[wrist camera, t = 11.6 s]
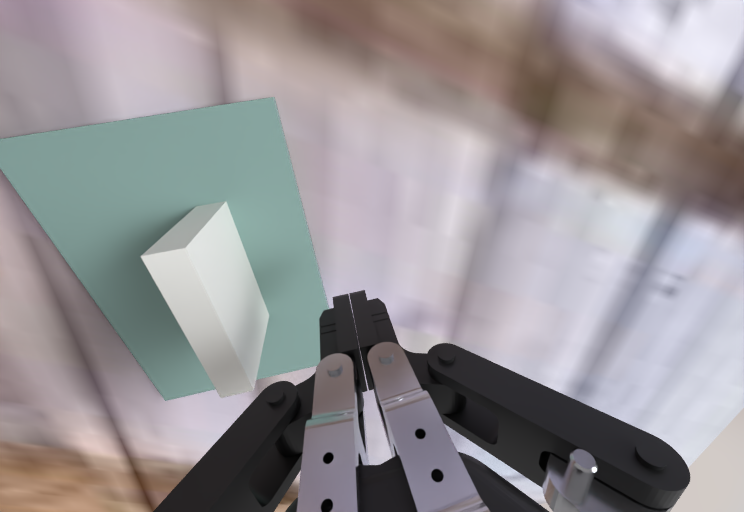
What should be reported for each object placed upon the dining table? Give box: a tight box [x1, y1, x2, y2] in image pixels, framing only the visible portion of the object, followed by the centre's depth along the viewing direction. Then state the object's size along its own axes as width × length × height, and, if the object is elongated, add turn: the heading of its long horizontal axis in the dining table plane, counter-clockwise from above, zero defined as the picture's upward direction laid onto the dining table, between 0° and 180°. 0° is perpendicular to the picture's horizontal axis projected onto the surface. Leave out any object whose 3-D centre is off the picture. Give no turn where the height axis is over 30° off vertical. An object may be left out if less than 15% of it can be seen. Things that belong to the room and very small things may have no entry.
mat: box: [0, 97, 329, 401], centre depth 19 cm, size 18×13×1 cm
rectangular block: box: [141, 201, 269, 398], centre depth 16 cm, size 6×2×8 cm
